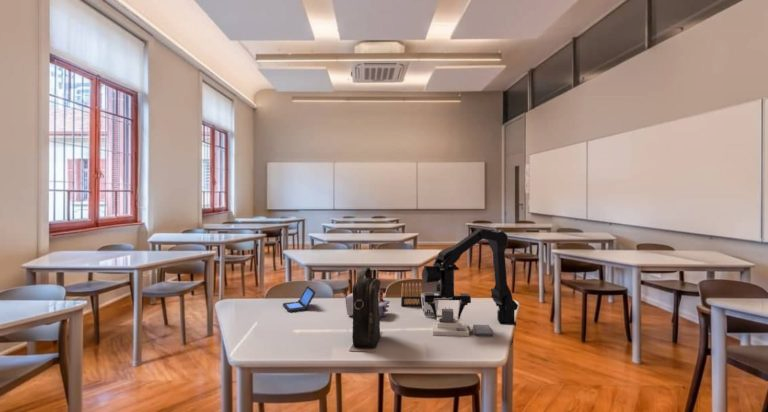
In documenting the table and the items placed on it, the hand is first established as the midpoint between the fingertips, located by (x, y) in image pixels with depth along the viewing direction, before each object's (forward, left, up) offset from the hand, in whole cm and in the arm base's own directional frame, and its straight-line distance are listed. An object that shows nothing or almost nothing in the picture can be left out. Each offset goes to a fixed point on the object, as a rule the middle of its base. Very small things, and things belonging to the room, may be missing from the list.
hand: (447, 318), depth 169 cm
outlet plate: (-1, +2, -4) cm, 5 cm away
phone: (-14, +3, -4) cm, 15 cm away
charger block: (0, 0, -2) cm, 3 cm away
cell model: (+36, -17, -5) cm, 40 cm away
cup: (+7, -18, -4) cm, 20 cm away
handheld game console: (+72, -28, -5) cm, 78 cm away
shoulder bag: (+31, +18, -4) cm, 36 cm away
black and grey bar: (-9, +6, -4) cm, 12 cm away
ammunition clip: (+16, -35, -4) cm, 39 cm away
